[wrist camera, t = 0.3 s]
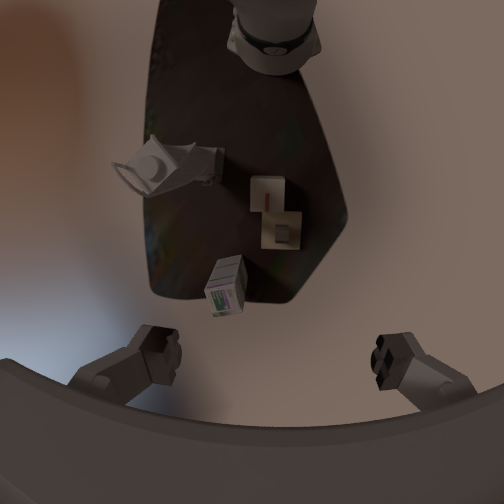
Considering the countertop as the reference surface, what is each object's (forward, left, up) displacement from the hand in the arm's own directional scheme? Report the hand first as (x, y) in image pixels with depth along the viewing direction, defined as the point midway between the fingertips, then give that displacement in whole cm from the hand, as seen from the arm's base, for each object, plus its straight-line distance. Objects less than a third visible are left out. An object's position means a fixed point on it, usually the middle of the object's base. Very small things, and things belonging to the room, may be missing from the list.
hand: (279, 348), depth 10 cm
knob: (0, -1, -46) cm, 46 cm away
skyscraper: (-6, -14, -46) cm, 49 cm away
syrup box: (+17, -8, -46) cm, 50 cm away
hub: (+8, +2, -46) cm, 46 cm away
